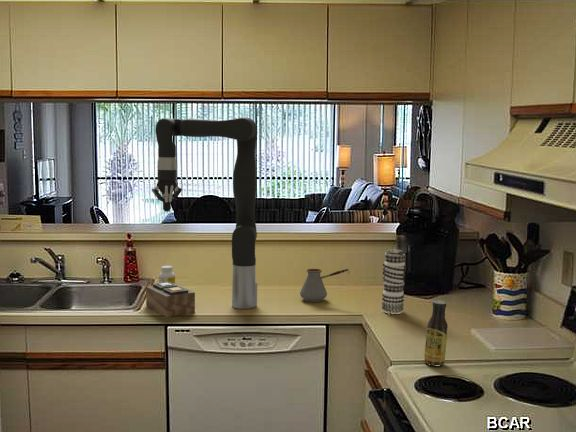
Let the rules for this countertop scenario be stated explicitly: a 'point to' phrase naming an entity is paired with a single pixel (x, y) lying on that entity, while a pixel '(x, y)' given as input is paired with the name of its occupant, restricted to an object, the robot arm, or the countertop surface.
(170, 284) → the grey metal peg
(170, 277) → the supplement bottle
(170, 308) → the walnut block
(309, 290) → the coffee pot
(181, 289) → the ochre peg
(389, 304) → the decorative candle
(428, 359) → the sauce bottle
